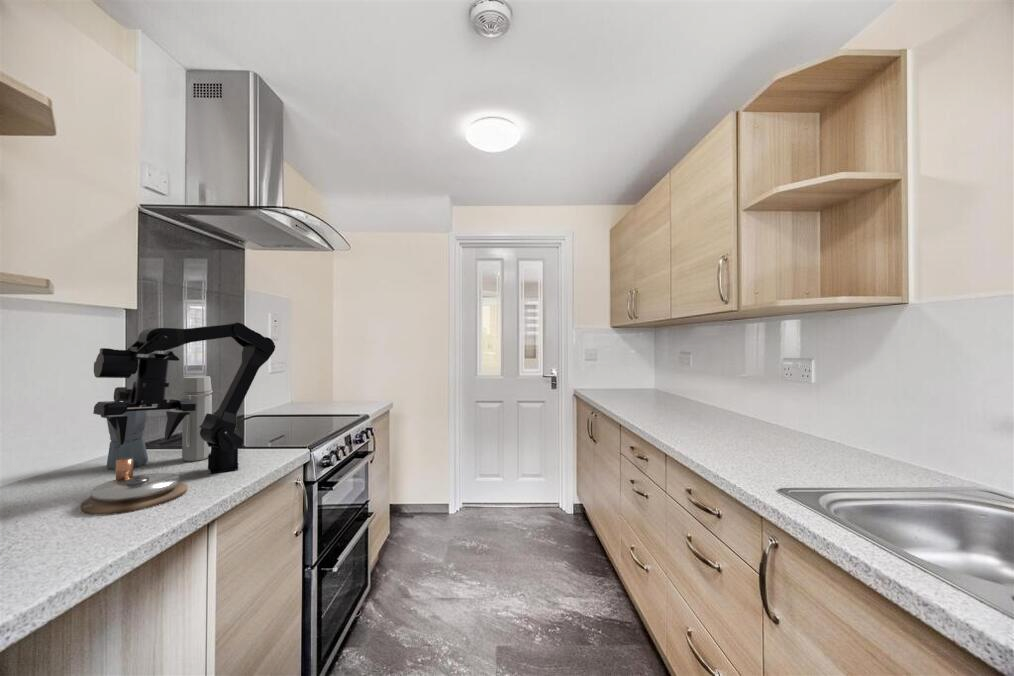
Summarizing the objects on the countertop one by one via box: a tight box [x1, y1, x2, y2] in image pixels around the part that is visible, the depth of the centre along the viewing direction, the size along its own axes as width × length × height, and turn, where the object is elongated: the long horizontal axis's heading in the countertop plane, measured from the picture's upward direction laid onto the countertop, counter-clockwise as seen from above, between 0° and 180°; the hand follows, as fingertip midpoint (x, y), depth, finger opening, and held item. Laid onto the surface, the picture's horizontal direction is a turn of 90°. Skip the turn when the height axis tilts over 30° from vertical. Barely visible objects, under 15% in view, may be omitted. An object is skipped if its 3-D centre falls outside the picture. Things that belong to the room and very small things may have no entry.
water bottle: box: [180, 375, 214, 462], centre depth 127 cm, size 9×8×25 cm
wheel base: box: [80, 481, 188, 515], centre depth 95 cm, size 18×18×1 cm
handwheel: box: [90, 458, 180, 502], centre depth 96 cm, size 16×15×7 cm
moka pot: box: [106, 405, 149, 470], centre depth 121 cm, size 10×15×20 cm, turn 27°
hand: (144, 442), depth 102 cm, fingers open, 9 cm apart
